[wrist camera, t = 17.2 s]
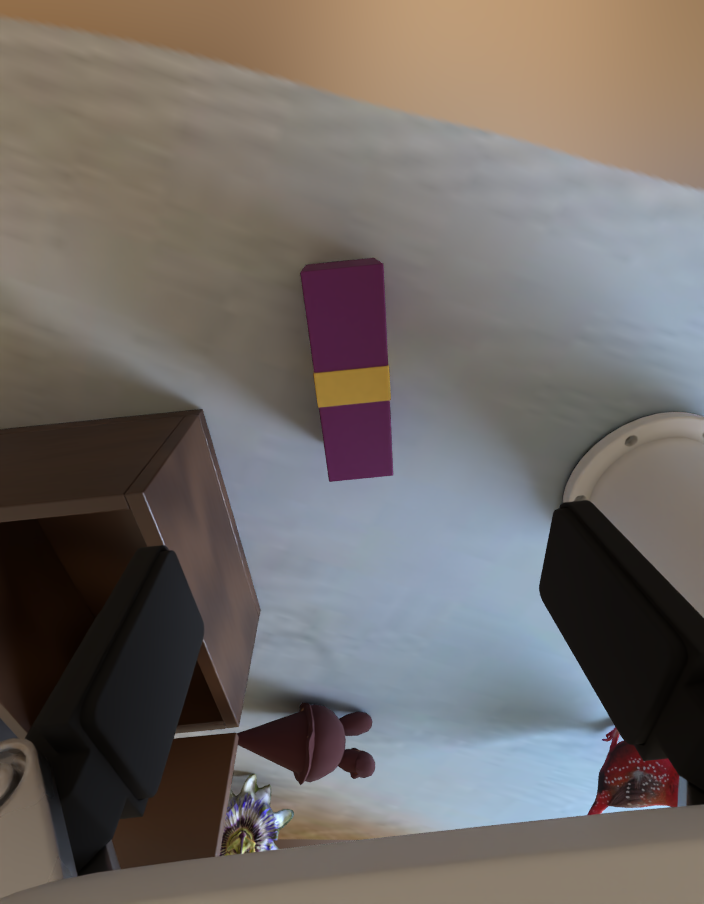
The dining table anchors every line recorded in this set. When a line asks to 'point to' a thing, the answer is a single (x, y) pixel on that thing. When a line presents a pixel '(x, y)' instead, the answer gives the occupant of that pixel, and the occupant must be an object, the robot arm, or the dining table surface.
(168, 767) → the lid
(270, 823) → the passion flower
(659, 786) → the decorative bird figurine
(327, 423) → the candy bar
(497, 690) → the dining table surface
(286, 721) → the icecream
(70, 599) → the chest
